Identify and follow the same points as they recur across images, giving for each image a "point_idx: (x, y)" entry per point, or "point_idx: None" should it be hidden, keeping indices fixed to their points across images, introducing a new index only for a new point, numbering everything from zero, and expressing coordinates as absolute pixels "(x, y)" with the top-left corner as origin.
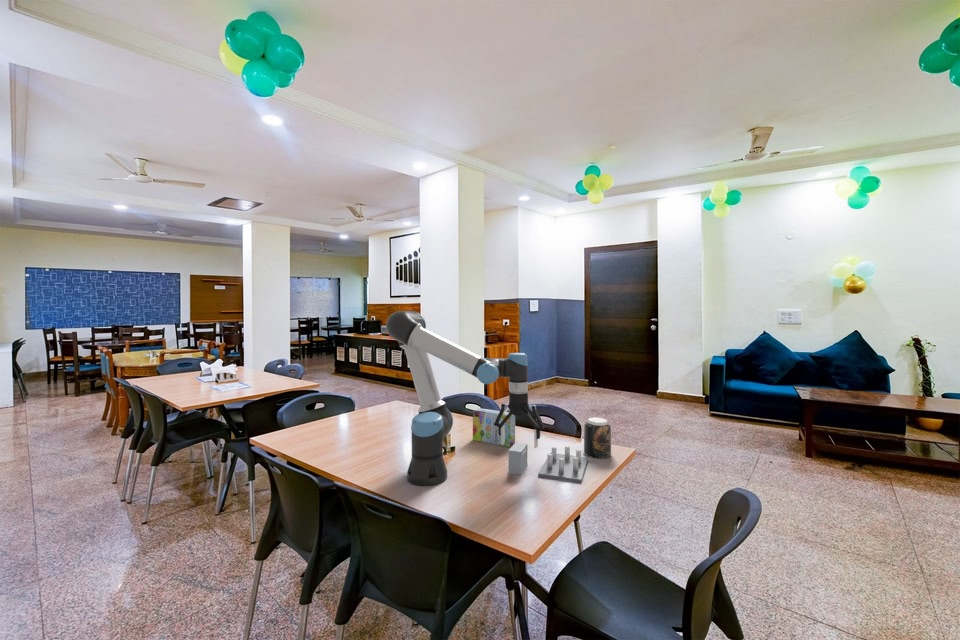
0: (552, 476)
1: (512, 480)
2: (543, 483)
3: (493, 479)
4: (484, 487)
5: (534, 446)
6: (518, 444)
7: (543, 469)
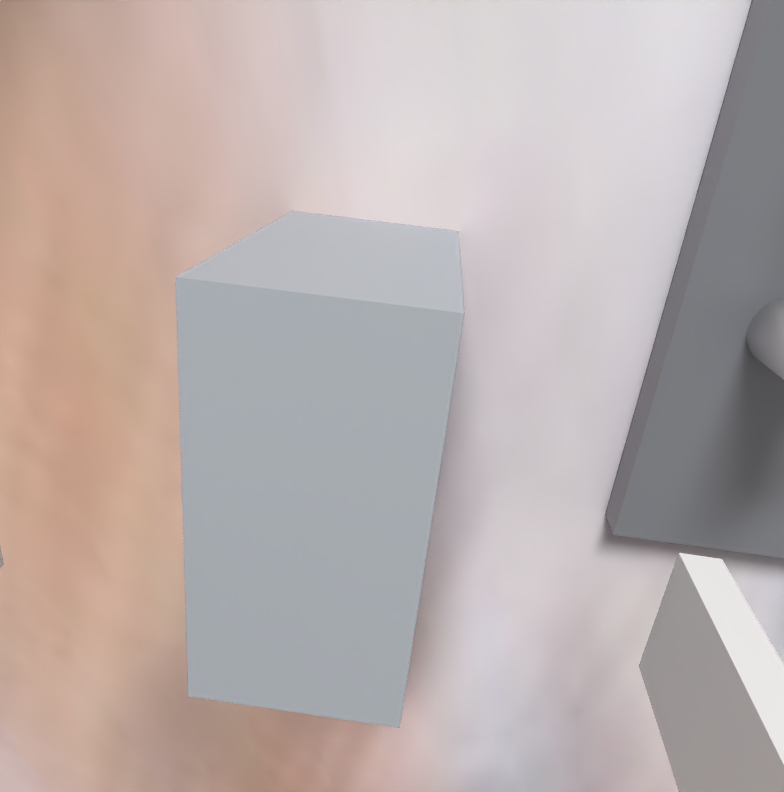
0: (773, 549)
1: None
2: None
3: None
4: (176, 761)
5: (649, 692)
6: (272, 393)
7: (685, 421)
